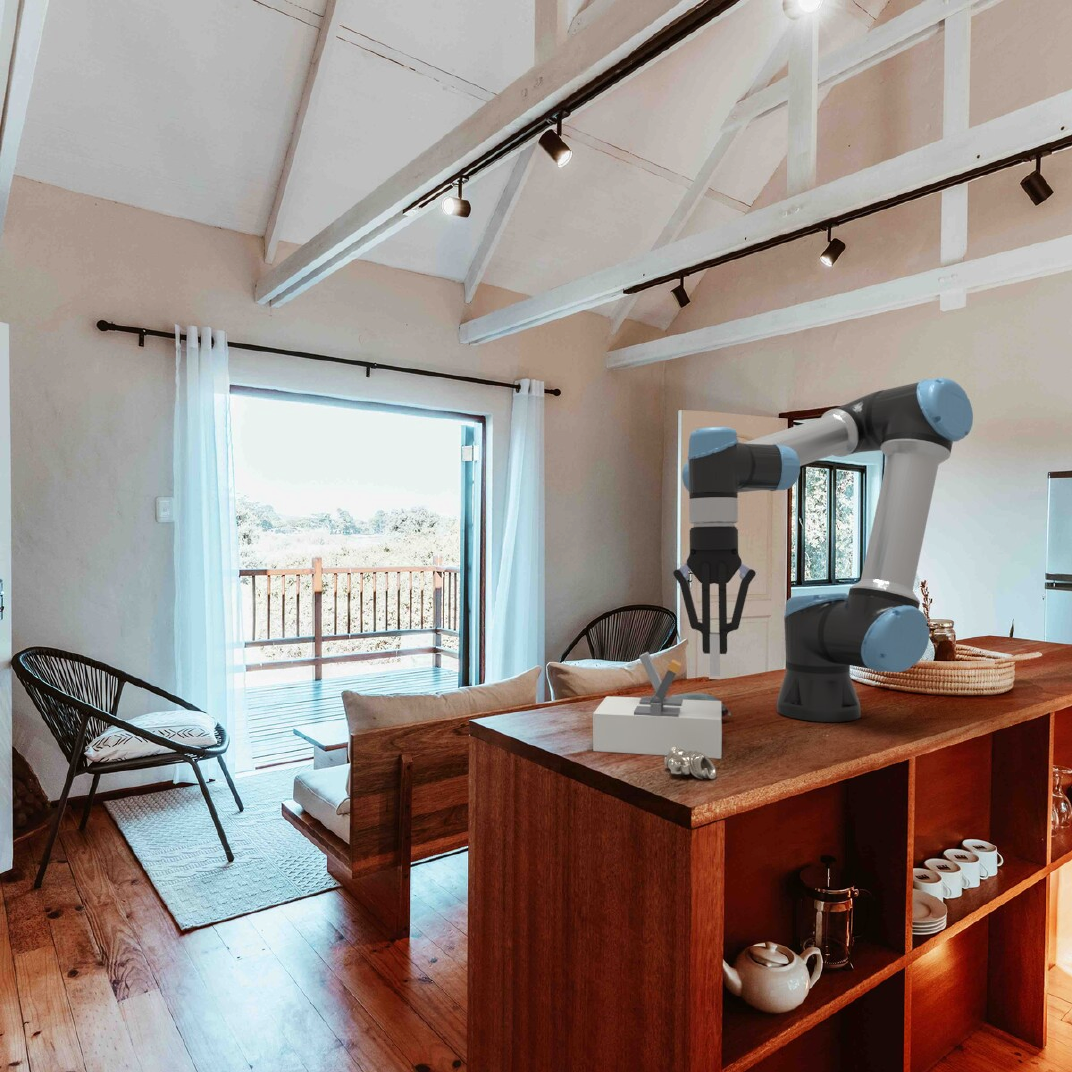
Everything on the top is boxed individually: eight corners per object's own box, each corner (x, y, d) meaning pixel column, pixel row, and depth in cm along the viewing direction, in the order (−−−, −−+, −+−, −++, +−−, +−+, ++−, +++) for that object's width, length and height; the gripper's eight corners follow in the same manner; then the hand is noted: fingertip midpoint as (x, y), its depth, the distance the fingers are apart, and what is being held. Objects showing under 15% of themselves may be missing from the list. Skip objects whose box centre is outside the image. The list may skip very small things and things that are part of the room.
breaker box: (721, 735, 128) (720, 652, 129) (721, 758, 115) (720, 664, 115) (606, 729, 133) (605, 649, 133) (593, 751, 120) (592, 661, 120)
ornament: (650, 774, 108) (650, 749, 108) (681, 765, 113) (680, 741, 113) (694, 787, 102) (694, 761, 102) (725, 777, 106) (724, 751, 107)
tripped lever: (660, 707, 122) (682, 664, 121) (659, 711, 119) (681, 666, 118) (649, 701, 122) (671, 658, 121) (647, 705, 119) (670, 660, 118)
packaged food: (659, 714, 146) (659, 689, 146) (719, 713, 146) (719, 688, 146) (669, 726, 137) (668, 699, 137) (732, 725, 137) (732, 698, 137)
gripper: (755, 525, 120) (756, 671, 120) (673, 526, 124) (674, 669, 123) (757, 524, 113) (759, 680, 113) (670, 525, 116) (671, 677, 116)
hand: (715, 674), depth 118 cm, fingers closed
